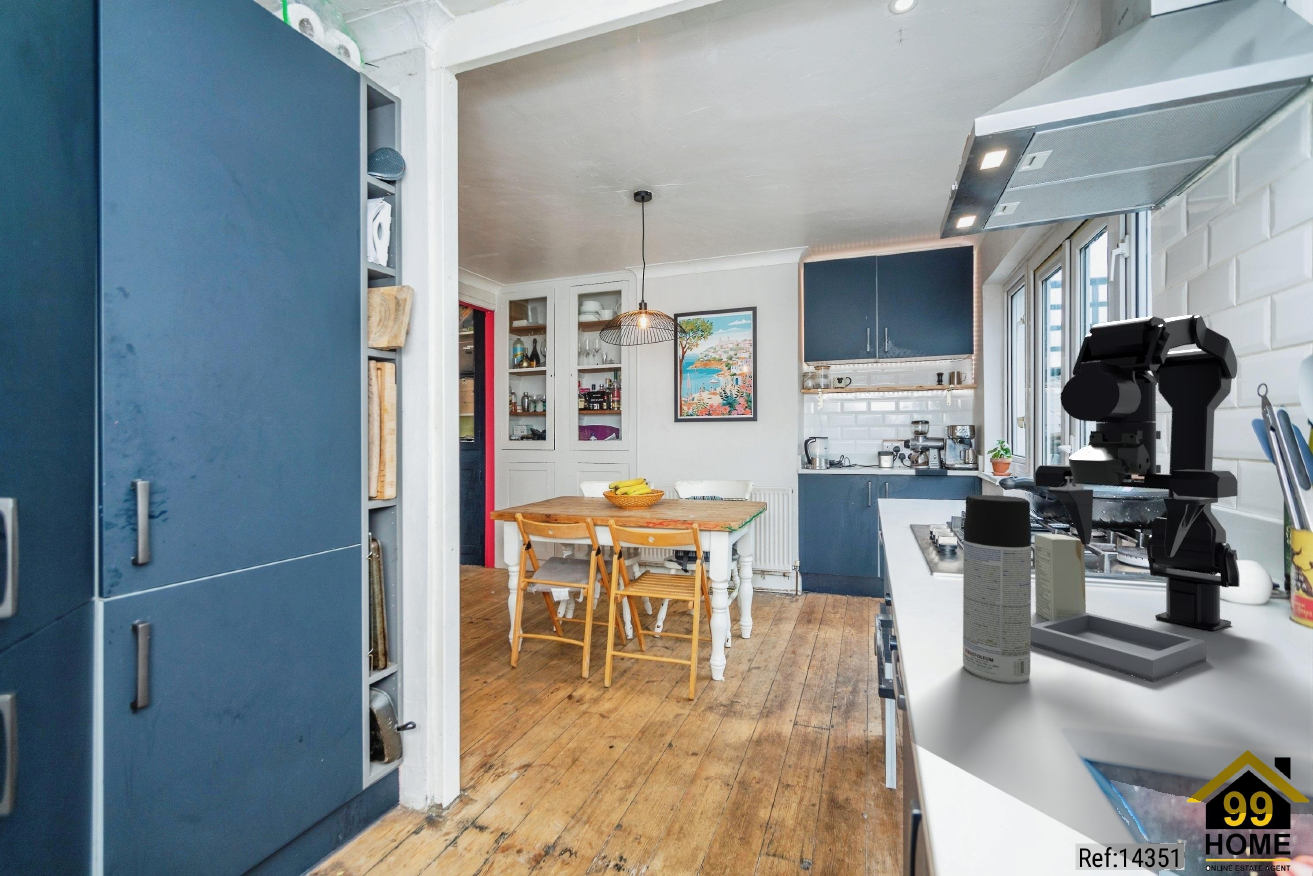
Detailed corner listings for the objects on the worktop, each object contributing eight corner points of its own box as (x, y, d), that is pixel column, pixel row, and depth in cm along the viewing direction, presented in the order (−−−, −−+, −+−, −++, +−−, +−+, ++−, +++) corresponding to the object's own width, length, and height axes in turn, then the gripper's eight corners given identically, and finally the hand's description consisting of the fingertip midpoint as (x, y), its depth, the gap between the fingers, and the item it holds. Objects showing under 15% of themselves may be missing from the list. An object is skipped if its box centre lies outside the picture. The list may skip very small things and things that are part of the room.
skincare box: (1087, 626, 82) (1087, 540, 82) (1053, 624, 83) (1053, 539, 83) (1065, 613, 88) (1065, 533, 88) (1033, 611, 89) (1033, 532, 89)
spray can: (1022, 666, 67) (1021, 495, 68) (1039, 689, 61) (1039, 501, 61) (958, 659, 70) (958, 493, 70) (968, 681, 63) (968, 499, 63)
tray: (1084, 630, 80) (1084, 612, 80) (1206, 662, 69) (1206, 641, 69) (1029, 645, 74) (1029, 626, 74) (1152, 683, 63) (1152, 660, 63)
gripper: (1008, 423, 75) (1009, 543, 75) (1193, 419, 58) (1194, 573, 58) (1056, 424, 80) (1057, 536, 80) (1239, 421, 64) (1239, 562, 64)
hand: (1125, 550), depth 70 cm, fingers open, 8 cm apart
